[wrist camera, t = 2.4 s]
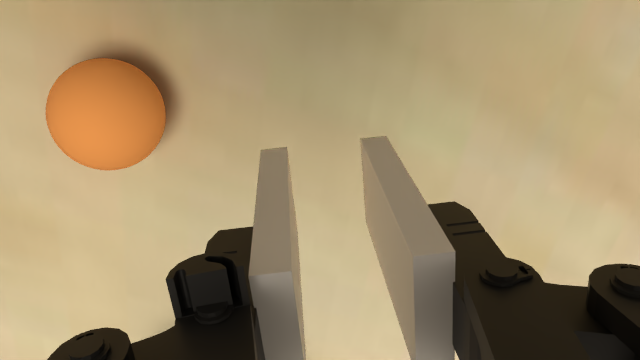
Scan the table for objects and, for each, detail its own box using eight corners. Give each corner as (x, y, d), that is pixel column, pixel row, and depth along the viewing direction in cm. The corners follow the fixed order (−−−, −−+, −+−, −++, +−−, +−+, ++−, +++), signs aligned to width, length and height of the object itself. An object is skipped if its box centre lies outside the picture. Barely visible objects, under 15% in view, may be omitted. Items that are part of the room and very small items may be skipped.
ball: (163, 44, 28) (137, 63, 23) (183, 142, 30) (164, 180, 25) (57, 55, 27) (7, 77, 22) (85, 153, 30) (46, 194, 25)
